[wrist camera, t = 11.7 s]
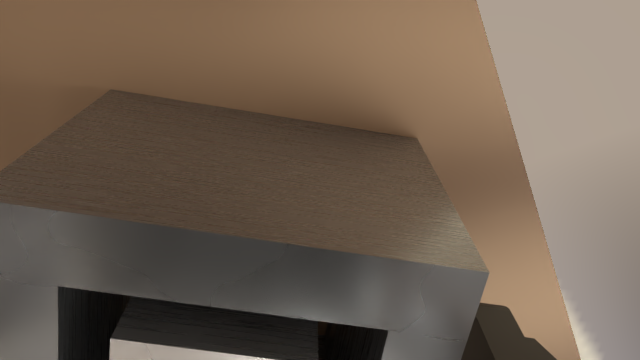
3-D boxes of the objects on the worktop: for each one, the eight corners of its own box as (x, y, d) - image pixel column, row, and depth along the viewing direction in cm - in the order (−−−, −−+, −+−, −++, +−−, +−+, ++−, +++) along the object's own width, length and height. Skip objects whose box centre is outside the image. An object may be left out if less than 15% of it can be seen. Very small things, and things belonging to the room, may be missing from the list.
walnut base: (581, 406, 16) (607, 450, 15) (198, 524, 18) (188, 574, 16) (351, -356, 10) (358, -405, 8) (-222, -61, 11) (-297, -62, 10)
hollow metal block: (417, 137, 11) (490, 272, 7) (358, 374, 14) (382, 596, 9) (110, 88, 11) (-36, 197, 6) (102, 342, 13) (-9, 558, 9)
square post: (315, 196, 12) (318, 365, 7) (296, 299, 13) (288, 507, 8) (191, 177, 12) (110, 339, 7) (181, 283, 13) (104, 488, 8)
